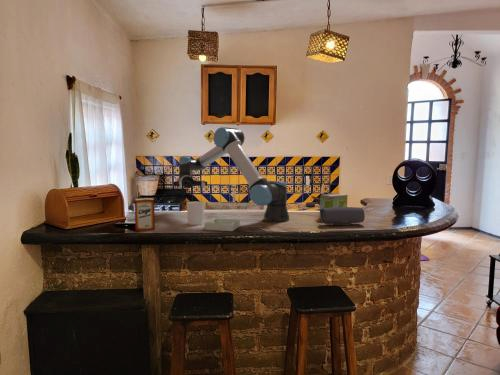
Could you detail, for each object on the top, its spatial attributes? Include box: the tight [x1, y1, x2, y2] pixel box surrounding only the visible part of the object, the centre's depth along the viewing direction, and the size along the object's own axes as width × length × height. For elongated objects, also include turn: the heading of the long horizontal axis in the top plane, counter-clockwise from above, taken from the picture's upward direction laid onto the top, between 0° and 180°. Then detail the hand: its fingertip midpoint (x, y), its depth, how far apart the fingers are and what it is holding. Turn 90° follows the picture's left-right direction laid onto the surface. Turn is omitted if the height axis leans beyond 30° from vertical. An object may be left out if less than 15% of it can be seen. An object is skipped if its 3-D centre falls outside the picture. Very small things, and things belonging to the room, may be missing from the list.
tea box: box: [318, 193, 348, 219], centre depth 220 cm, size 15×10×15 cm, turn 131°
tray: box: [204, 217, 241, 232], centre depth 192 cm, size 15×15×4 cm
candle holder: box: [186, 200, 205, 226], centre depth 201 cm, size 10×10×12 cm
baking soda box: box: [134, 197, 156, 232], centre depth 186 cm, size 10×6×16 cm
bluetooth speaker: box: [319, 206, 365, 226], centre depth 200 cm, size 23×9×10 cm, turn 100°
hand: (192, 185), depth 209 cm, fingers open, 13 cm apart
